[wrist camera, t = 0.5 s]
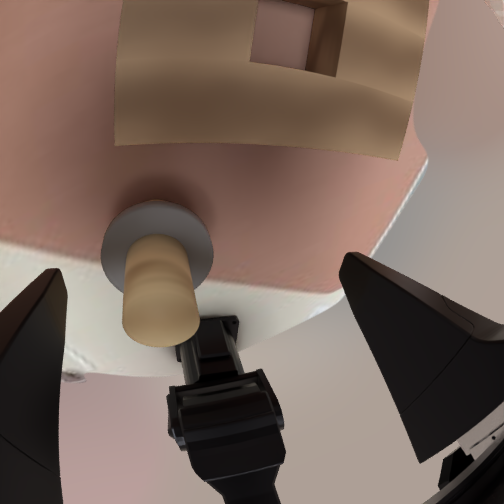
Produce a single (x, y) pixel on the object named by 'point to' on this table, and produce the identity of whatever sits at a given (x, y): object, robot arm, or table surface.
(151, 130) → the walnut board
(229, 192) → the table surface
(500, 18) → the giant panda
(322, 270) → the table surface
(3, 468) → the robot arm
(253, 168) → the table surface
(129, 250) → the tan piece
